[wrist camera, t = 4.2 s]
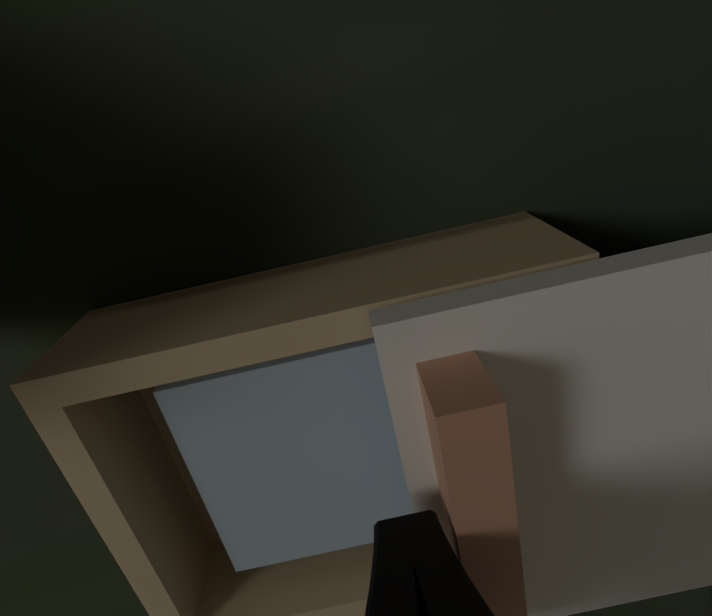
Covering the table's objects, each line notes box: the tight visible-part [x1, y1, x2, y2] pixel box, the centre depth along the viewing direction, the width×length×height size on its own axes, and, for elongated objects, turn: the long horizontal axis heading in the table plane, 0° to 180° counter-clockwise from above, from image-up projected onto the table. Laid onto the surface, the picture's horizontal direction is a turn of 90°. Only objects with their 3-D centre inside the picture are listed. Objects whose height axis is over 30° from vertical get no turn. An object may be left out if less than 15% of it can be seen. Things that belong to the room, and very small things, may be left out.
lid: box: [368, 233, 712, 616], centre depth 11 cm, size 10×13×3 cm
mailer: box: [9, 211, 599, 616], centre depth 14 cm, size 10×13×4 cm
